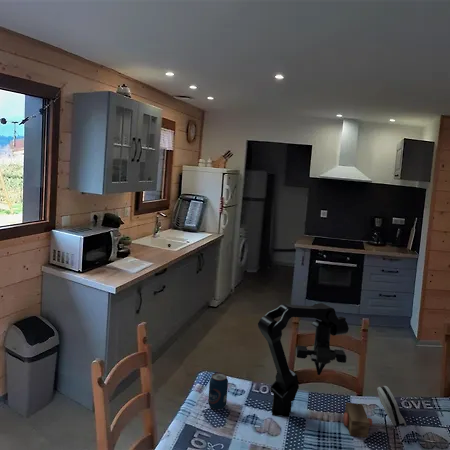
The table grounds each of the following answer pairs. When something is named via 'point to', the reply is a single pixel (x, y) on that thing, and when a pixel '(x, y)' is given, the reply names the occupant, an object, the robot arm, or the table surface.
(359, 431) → the block
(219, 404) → the soda can
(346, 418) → the pin
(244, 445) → the table surface
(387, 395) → the white curved piece
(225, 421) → the table surface
